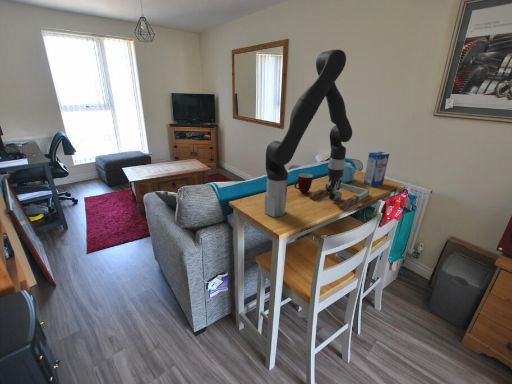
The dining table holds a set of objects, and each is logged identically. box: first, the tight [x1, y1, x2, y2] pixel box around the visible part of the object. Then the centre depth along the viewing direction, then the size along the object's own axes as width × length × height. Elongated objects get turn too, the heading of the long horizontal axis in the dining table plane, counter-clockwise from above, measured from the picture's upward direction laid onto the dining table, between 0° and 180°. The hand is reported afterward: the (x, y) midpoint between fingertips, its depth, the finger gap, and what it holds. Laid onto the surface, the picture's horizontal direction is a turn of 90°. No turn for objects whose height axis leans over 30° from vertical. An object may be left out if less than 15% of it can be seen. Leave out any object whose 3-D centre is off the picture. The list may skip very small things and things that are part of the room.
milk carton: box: [363, 151, 390, 188], centre depth 157 cm, size 10×6×20 cm, turn 115°
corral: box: [324, 183, 370, 202], centre depth 144 cm, size 13×20×3 cm, turn 46°
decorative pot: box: [327, 161, 356, 184], centre depth 163 cm, size 16×16×14 cm
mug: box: [293, 173, 313, 194], centre depth 143 cm, size 11×8×10 cm
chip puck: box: [329, 190, 343, 203], centre depth 136 cm, size 6×6×4 cm
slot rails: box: [309, 186, 358, 211], centre depth 134 cm, size 16×19×3 cm
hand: (331, 199), depth 132 cm, fingers closed
